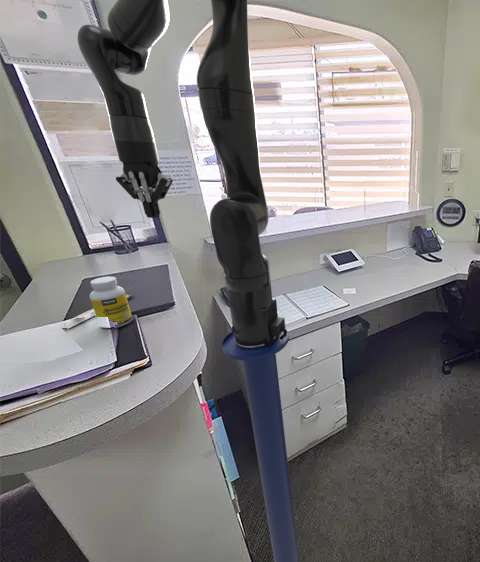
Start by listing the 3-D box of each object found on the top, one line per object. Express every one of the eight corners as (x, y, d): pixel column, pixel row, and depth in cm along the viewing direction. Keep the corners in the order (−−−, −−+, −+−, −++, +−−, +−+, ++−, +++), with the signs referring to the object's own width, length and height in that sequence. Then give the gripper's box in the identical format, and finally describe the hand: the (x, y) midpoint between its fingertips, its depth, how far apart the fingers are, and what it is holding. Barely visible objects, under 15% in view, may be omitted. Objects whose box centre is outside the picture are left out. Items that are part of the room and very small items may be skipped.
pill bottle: (101, 332, 73) (85, 287, 68) (99, 322, 77) (83, 279, 73) (135, 324, 77) (122, 280, 72) (131, 314, 81) (118, 273, 77)
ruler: (131, 297, 90) (131, 295, 90) (69, 329, 74) (68, 326, 73) (122, 297, 90) (121, 294, 90) (58, 328, 74) (56, 325, 74)
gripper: (174, 141, 72) (188, 215, 79) (122, 140, 73) (140, 213, 80) (149, 139, 65) (167, 221, 72) (92, 138, 66) (115, 218, 73)
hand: (153, 217), depth 76 cm, fingers closed
